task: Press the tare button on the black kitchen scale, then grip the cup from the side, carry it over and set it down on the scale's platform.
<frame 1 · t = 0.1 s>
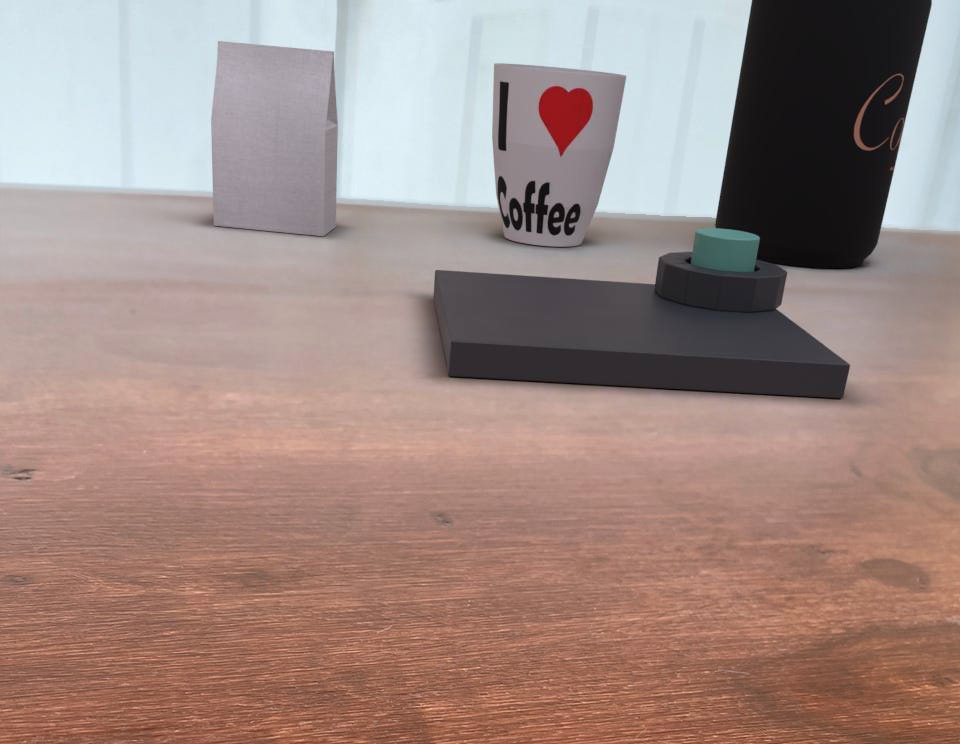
scale: (617, 343, 53), on the table
grey paper bag: (275, 229, 73), on the table
tare button: (724, 252, 56), point 4 cm above the table, slide at 0.1 cm
coffee jar: (790, 257, 80), on the table
cup: (542, 242, 77), on the table
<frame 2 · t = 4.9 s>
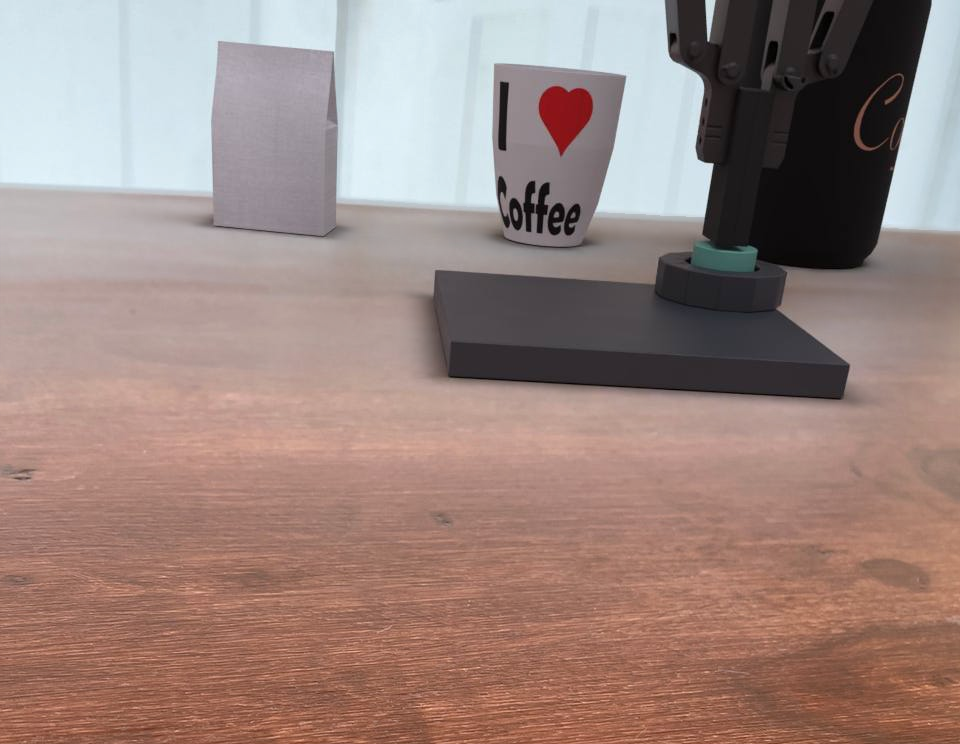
hand: (724, 240, 56), 4 cm above the table, tool pointing down, fingers closed
tare button: (722, 265, 56), point 3 cm above the table, slide at -0.4 cm, touching gripper
everything else where it was.
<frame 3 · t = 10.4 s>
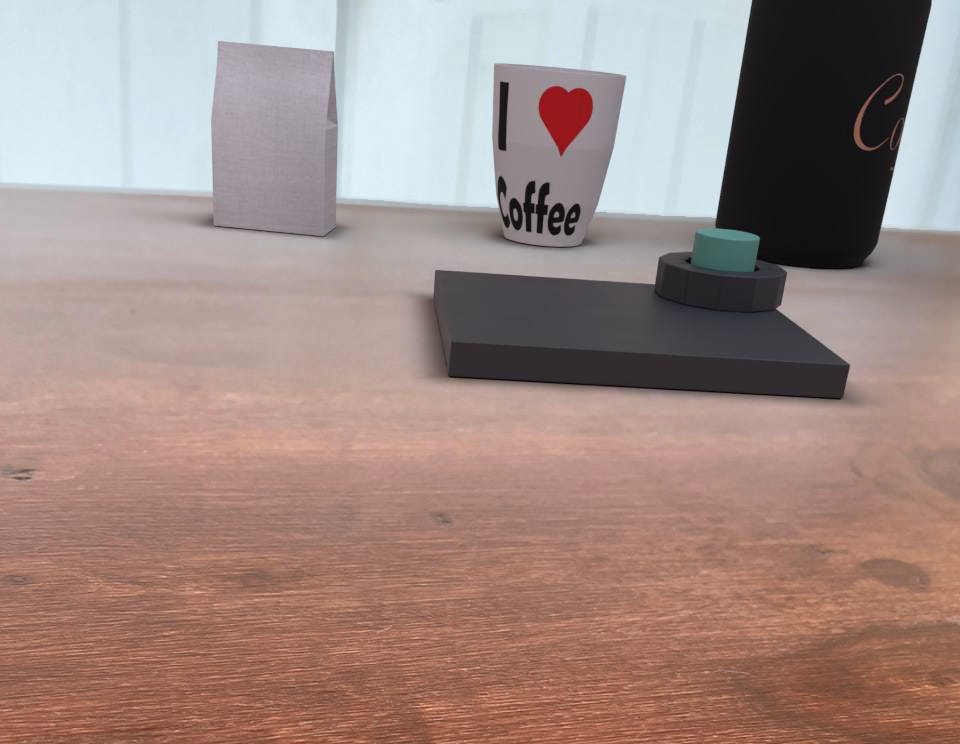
tare button: (724, 253, 56), point 4 cm above the table, slide at 0.1 cm
everything else where it was.
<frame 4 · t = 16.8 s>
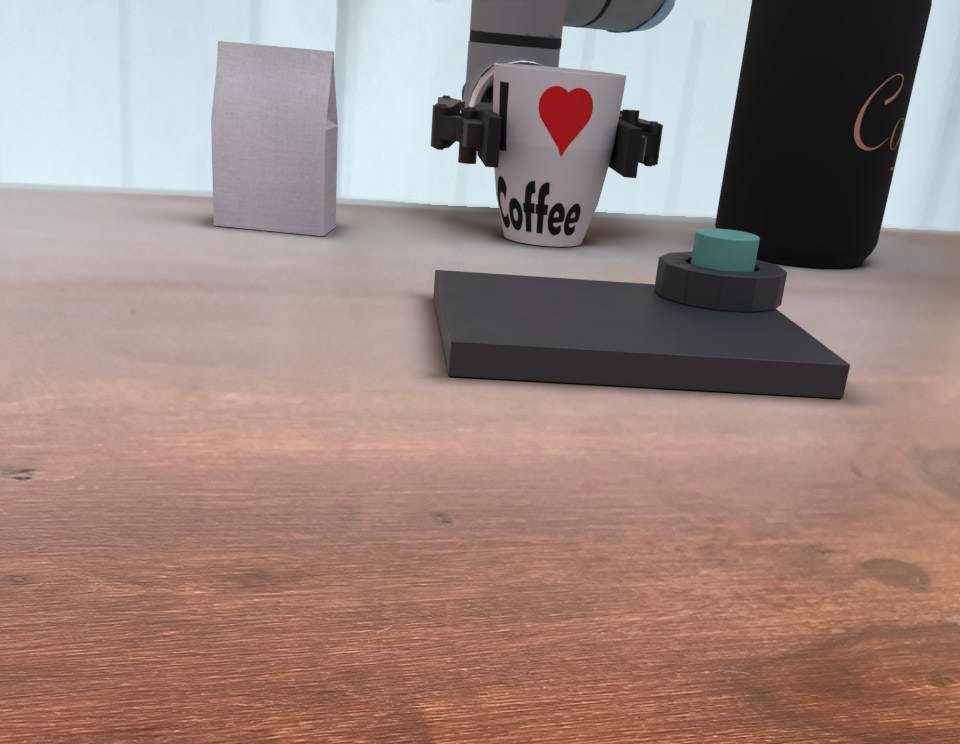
hand: (563, 148, 70), 6 cm above the table, tool horizontal, fingers closed on cup, 8 cm apart
cup: (542, 242, 77), on the table, touching gripper
everything else where it was.
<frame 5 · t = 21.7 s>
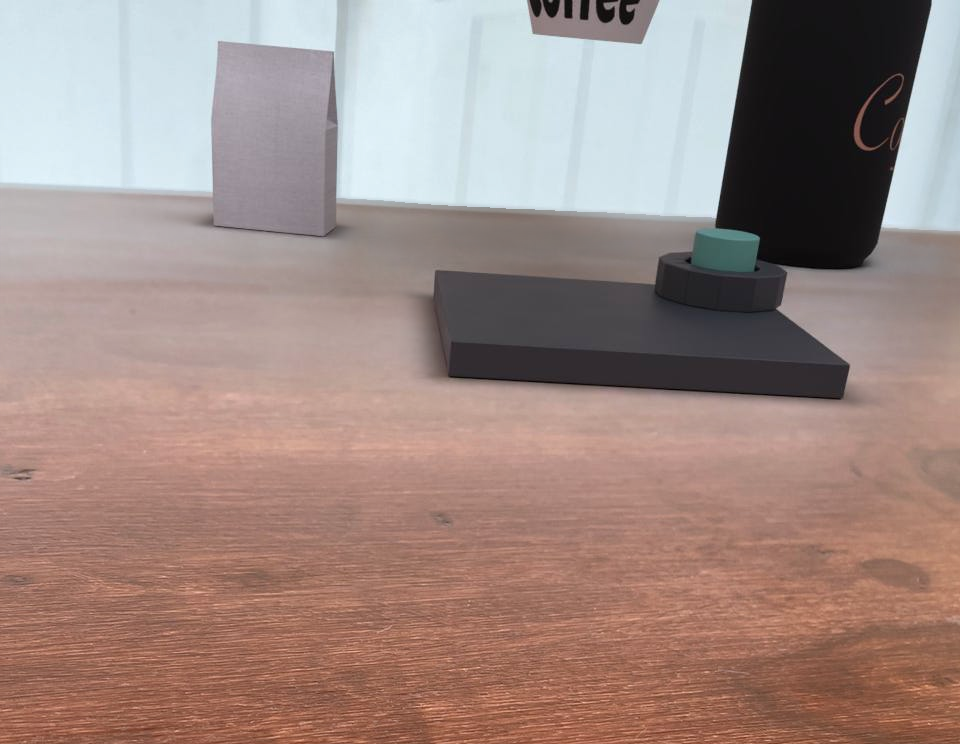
cup: (586, 44, 55), point 12 cm above the table, touching gripper
everything else where it was.
when the fingers open (7 cm above the table, at t = 26.4 s): cup stays where it is, resting on scale.
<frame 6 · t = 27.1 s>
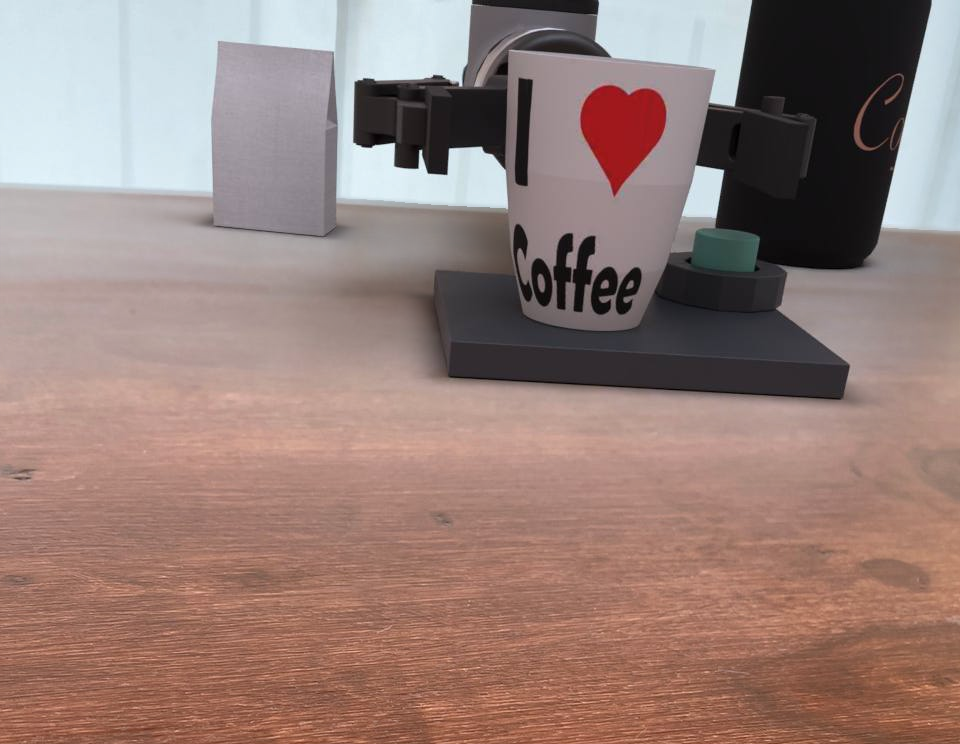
hand: (619, 149, 45), 8 cm above the table, tool horizontal, fingers open, 13 cm apart
cup: (580, 321, 51), point 1 cm above the table, touching scale
everything else where it was.
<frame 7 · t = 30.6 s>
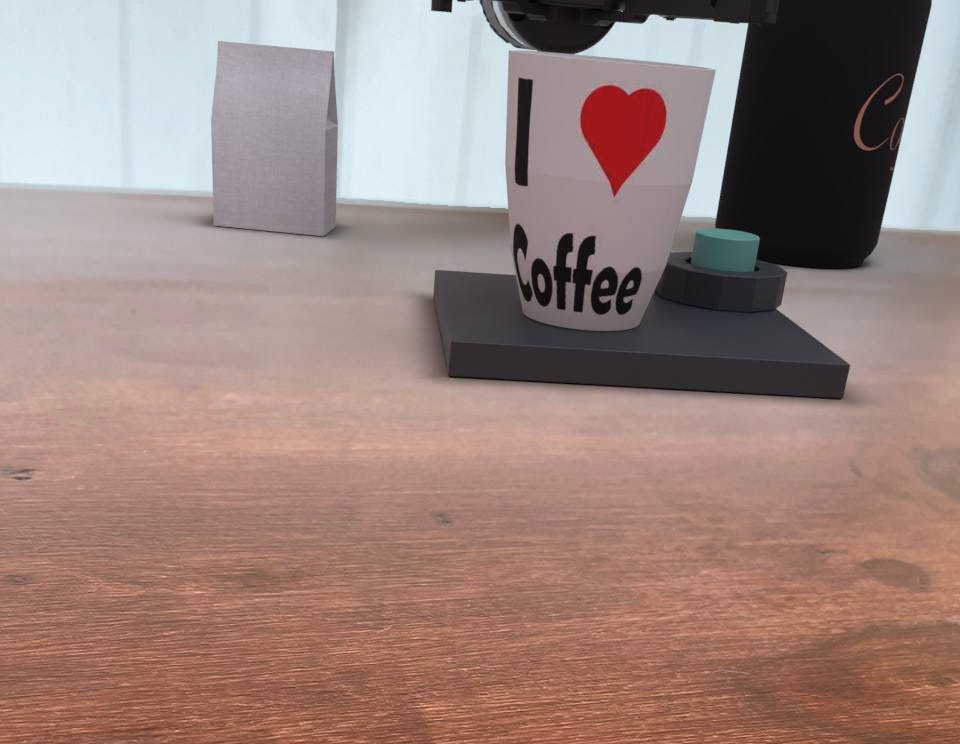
nothing on the table moved.
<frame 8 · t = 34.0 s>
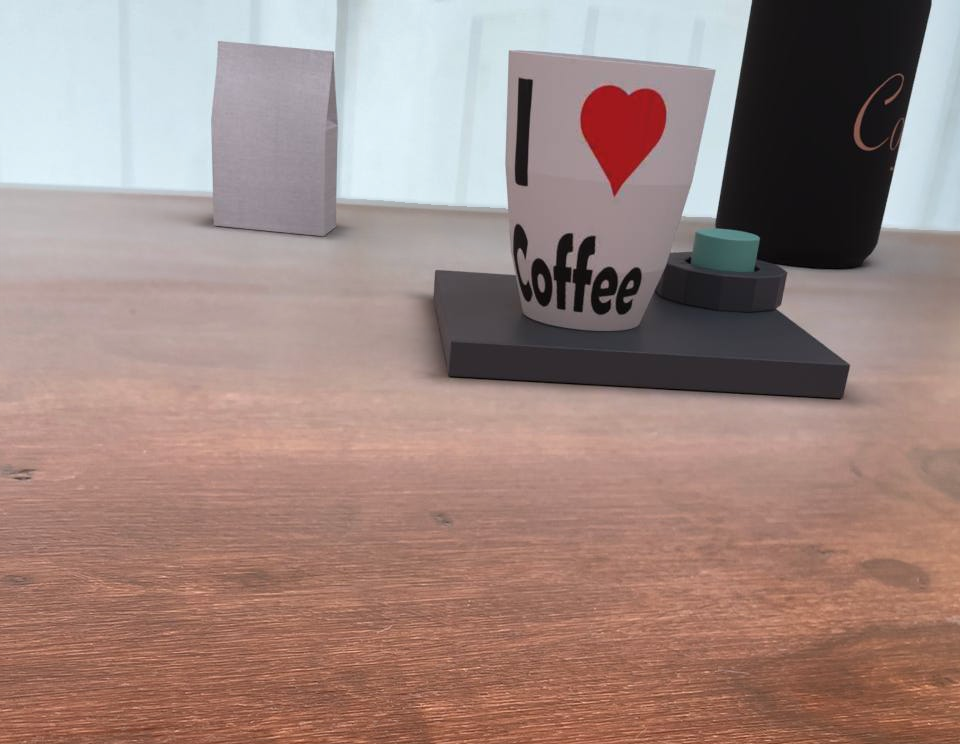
nothing on the table moved.
at the end: tare button pushed in 0.8 cm at the most during the clip, back to where it started at the end; cup inside the target area on the scale (1.1 cm from its centre), point 1.2 cm above the scale's base; cup touching scale; cup tilted 0° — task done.
